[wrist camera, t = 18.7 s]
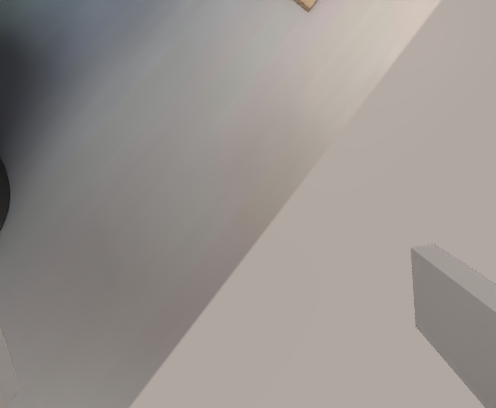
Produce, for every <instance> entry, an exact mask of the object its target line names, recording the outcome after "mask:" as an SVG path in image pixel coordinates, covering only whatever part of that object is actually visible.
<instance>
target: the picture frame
mask: <svg viewBox="0 0 496 408" xmlns="http://www.w3.org/2000/svg"><path fill="white" fill-rule="evenodd" d="M294 1H296V2H297V3H298V4H299V5H301V6H302V7H303V8H304V9H305V10H307V11H308V12H309V10H310V9H311V8H312V6H313V5H314V4H315V2H316V1H317V0H294Z"/></svg>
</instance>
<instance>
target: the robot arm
mask: <svg viewBox="0 0 496 408" xmlns="http://www.w3.org/2000/svg"><path fill="white" fill-rule="evenodd" d="M8 205H9V185H8V179H7V175H6V172H5V169H4V166H3V164H2V162H1V160H0V229H1V227H2V225H3V222H4V220H5V217H6V214H7V210H8ZM411 259H412V275H413V291H414V306H415V322H416V327H417V328H418V329H419V331H420V332H421V333H422V334H423V335H424V336H425V338H426V339H427V340H428V341H429V342H430V344H431V345H432V346H433V347H434V348H435V349H436V350H437V352H438V353H439V354H440V355H441V356H442V358H443V359H444V360H445V361H446V362H447V363H448V365H449V366H450V367H451V368H452V369H453V370H454V372H455V373H456V374H457V375H458V376H459V377H460V379H461V380H462V381H463V382H464V383H465V384H466V386H467V387H468V388H469V389H470V390H471V391H472V393H473V394H474V395H475V396H476V397H477V398H478V400H479V401H480V402H481V403H482V404H483V405H484V407H485V408H496V283H494V282H492V281H491V280H489V279H488V278H486V277H485V276H483V275H482V274H480V273H479V272H477V271H476V270H474V269H473V268H471V267H469V266H468V265H466V264H465V263H463V262H462V261H460V260H459V259H457V258H456V257H454V256H453V255H451V254H450V253H448V252H446V251H445V250H443V249H442V248H440V247H439V246H437V245H436V244H431V245H424V246H418V247H412V248H411ZM19 390H20V386H19V383H18V380H17V376H16V373H15V370H14V367H13V364H12V361H11V358H10V354H9V351H8V348H7V345H6V342H5V339H4V336H3V333H2V329H1V326H0V408H6V407H7V406H8V404H9V403H10V402H11V400H12V399H13V398H14V397H15V395H16V394H17V393H18V391H19Z"/></svg>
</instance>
